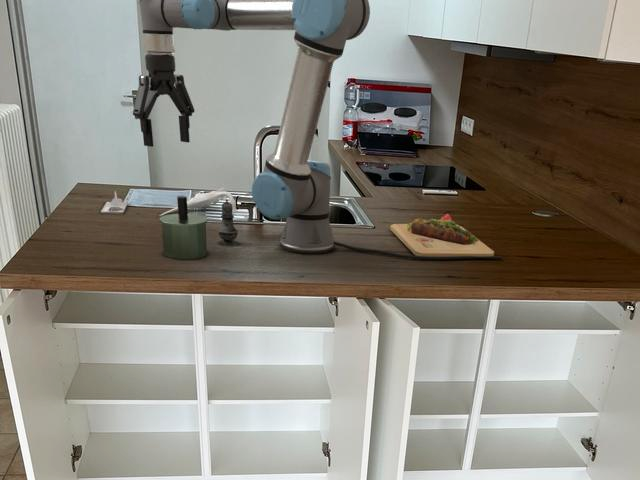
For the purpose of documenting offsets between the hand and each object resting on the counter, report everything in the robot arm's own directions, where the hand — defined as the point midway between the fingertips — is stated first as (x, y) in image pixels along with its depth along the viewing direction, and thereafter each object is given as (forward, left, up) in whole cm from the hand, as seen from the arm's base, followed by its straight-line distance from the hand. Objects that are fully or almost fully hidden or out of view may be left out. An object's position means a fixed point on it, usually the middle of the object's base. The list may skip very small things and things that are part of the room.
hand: (167, 144), depth 202 cm
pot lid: (-14, +14, -16) cm, 25 cm away
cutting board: (-67, -40, -24) cm, 82 cm away
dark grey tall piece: (-17, -2, -25) cm, 30 cm away
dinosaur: (+11, -30, -25) cm, 40 cm away
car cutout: (+36, -17, -25) cm, 47 cm away
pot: (-14, +14, -24) cm, 31 cm away
